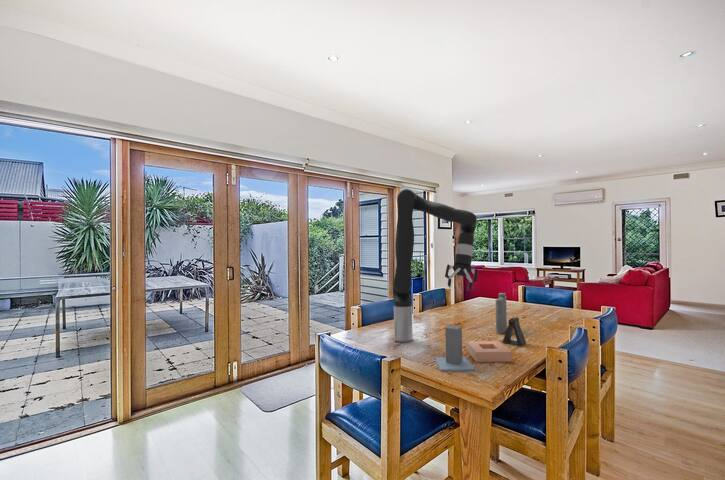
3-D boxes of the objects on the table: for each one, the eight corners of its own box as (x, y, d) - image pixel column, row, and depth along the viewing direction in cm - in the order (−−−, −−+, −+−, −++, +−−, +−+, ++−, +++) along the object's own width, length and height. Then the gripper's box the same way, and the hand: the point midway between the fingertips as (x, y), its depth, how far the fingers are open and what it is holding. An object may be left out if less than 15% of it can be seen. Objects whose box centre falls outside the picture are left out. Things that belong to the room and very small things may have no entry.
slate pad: (440, 371, 131) (440, 369, 131) (434, 359, 144) (434, 357, 144) (475, 370, 131) (474, 368, 131) (465, 358, 144) (465, 356, 144)
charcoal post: (446, 362, 138) (445, 327, 138) (450, 358, 142) (450, 324, 142) (458, 364, 135) (457, 329, 135) (462, 360, 140) (461, 326, 139)
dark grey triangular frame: (526, 343, 163) (525, 318, 163) (522, 346, 158) (521, 320, 158) (506, 339, 169) (506, 315, 169) (502, 342, 164) (501, 317, 164)
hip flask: (501, 326, 194) (500, 290, 194) (508, 327, 192) (507, 291, 192) (495, 333, 181) (494, 295, 181) (503, 334, 179) (503, 295, 179)
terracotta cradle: (476, 361, 140) (476, 352, 140) (466, 350, 155) (466, 341, 155) (511, 361, 140) (511, 351, 140) (498, 349, 154) (498, 341, 154)
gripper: (448, 251, 159) (443, 286, 156) (480, 256, 155) (476, 291, 153) (448, 253, 166) (443, 286, 164) (478, 258, 162) (474, 292, 160)
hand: (459, 289), depth 158 cm, fingers open, 8 cm apart
